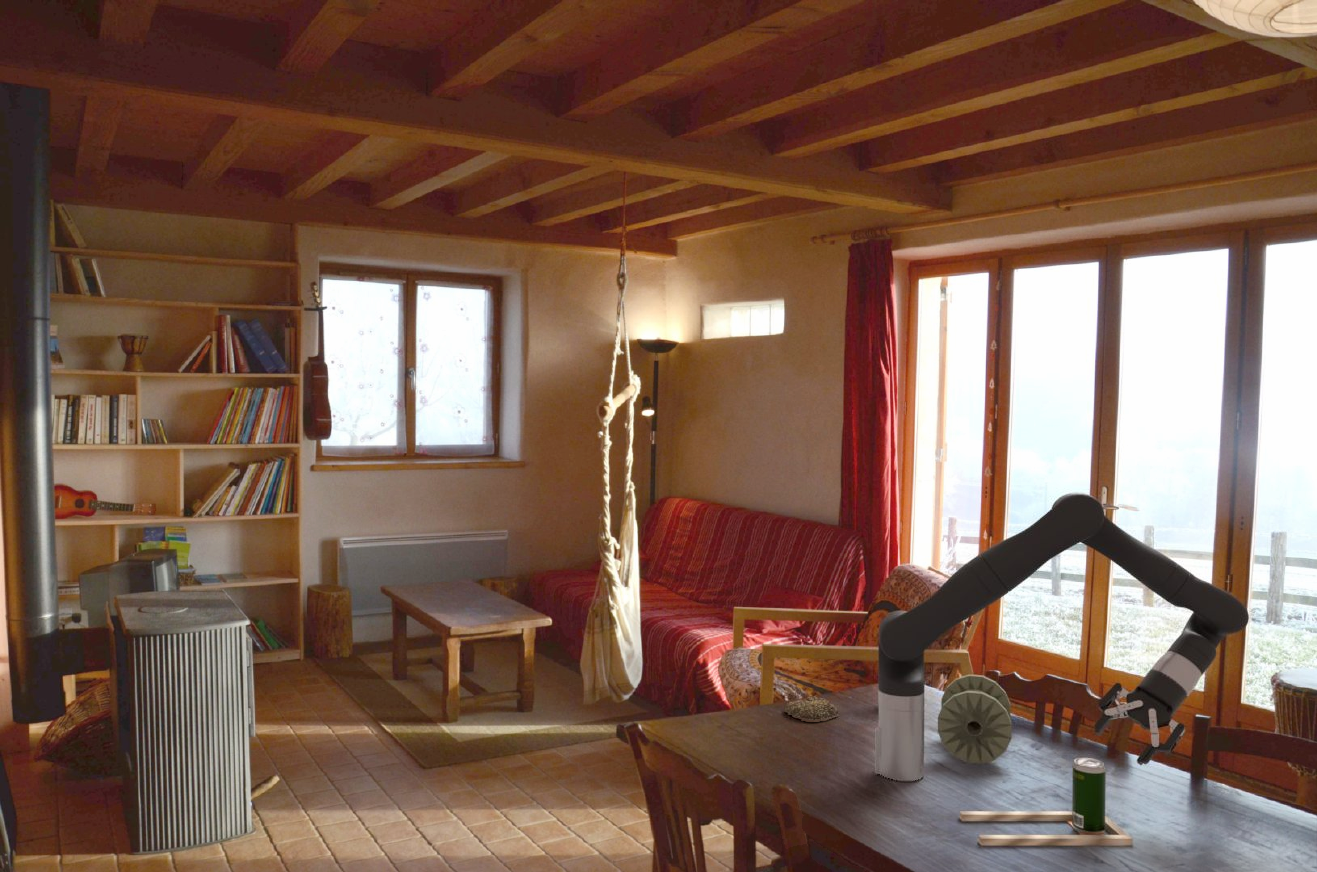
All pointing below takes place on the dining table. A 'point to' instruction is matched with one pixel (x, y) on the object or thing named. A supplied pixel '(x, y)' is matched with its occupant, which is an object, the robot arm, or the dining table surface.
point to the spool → (975, 719)
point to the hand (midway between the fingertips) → (1117, 748)
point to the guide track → (1115, 839)
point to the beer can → (1088, 796)
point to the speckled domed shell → (812, 708)
